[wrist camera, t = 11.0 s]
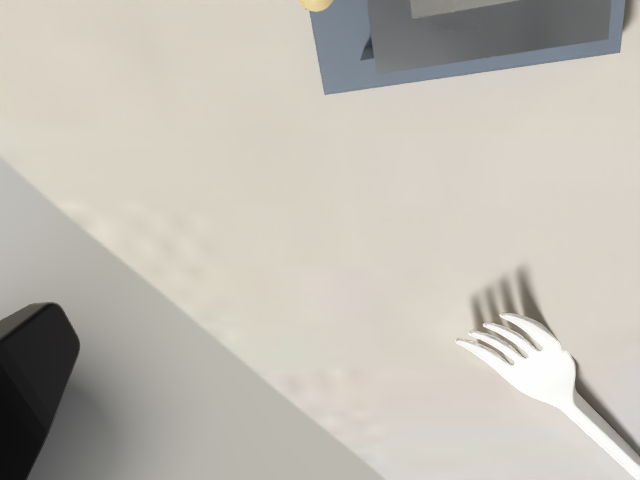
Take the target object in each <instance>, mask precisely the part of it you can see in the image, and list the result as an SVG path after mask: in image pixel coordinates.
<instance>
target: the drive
mask: <svg viewBox="0 0 640 480" xmlns="http://www.w3.org/2000/svg"><path fill="white" fill-rule="evenodd" d="M611 2H612V0H367V8H368V15H369V23H370V30H371V38H372V45H373V53H374V60H375V68H376V75H378V74H385V73H391V72H398V71H404V70H411V69H417V68H424V67H430V66H437V65H443V64H450V63H456V62H463V61H470V60H476V59H483V58H489V57H496V56H502V55H509V54H515V53H522V52H528V51H535V50H541V49H548V48H554V47H561V46H567V45H574V44H581V43H587V42H594V41H600V40H607V39H608V37H609V26H610V14H611Z"/></svg>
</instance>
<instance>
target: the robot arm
mask: <svg viewBox="0 0 640 480" xmlns="http://www.w3.org/2000/svg"><path fill="white" fill-rule="evenodd" d="M79 351H80V341H79V338H78V336H77V334H76V332H75V330H74V328H73V326H72V325H71V323H70V321H69V319H68V317H67V316H66V314H65V312H64V310H63V309H62V308H61V306H60V305H58V304H57V303H54V302H46V303H34V304H30V305H28V306H26V307H25V308H23V309H21V310H19V311H17V312H15V313H14V314H12V315H10V316H8V317H6V318H4V319H2V320H1V321H0V480H27V479H28V476H29V474H30V472H31V470H32V468H33V466H34V464H35V462H36V460H37V458H38V456H39V454H40V451H41V449H42V447H43V445H44V443H45V441H46V439H47V436H48V434H49V432H50V429H51V427H52V424H53V422H54V419H55V416H56V414H57V411H58V408H59V406H60V403H61V400H62V397H63V395H64V392H65V389H66V387H67V384H68V381H69V379H70V376H71V373H72V370H73V368H74V365H75V363H76V360H77V357H78V354H79Z"/></svg>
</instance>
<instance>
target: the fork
mask: <svg viewBox="0 0 640 480" xmlns="http://www.w3.org/2000/svg"><path fill="white" fill-rule="evenodd" d="M500 317H502V318H504V319H506V320H508V321H510V322H512V323H513V324H515V325H517V326H518V327H520V328H521V329H523V330H524V331H525V332H527V333H528V334H529V335H530V336H531V337H533V338H534V339H535V340H536V341H537V342H538V343H539V344H540V345H541V346H542V347H543V349H542V350H537V349H536V348H535V347H534V346H533V345H532V344H531V343H530V342H529V341H528V340H527V339H526V338H525V337H523V336H522V335H521V334H519V333H518V332H516V331H514V330H511V329H509V328H507V327H505V326H502V325H499V324H495V323H491V322H486V323H484V324H483V326H484V327H486V328H488V329H490V330H493V331H495V332H496V333H498V334H500V335H502V336H504V337H506V338H507V339H509V340H510V341H512V342H513V343H515V344H516V345H518V346H519V347H520V348H522V349H523V350H524V351H526V352H527V353H528V354H529V357H527V358H525V357H523V356H522V355H520V354H519V353H518V352H517V351H516V350H515V349H514V348H513V347H512V346H511V345H510V344H509V343H507V342H505V341H504V340H502V339H499V338H497V337H495V336H493V335H490V334H487V333H483V332H480V331H473V330H472V331H469V332H468V334H469V335H470V336H473V337H475V338H478V339H480V340H482V341H484V342H486V343H488V344H490V345H492V346H493V347H495V348H496V349H498V350H500V351H501V352H503V353H504V354H506V355H507V356H509V357H510V358H511V359H513V360H514V361H515V363H514V364H510V363H508V362H507V361H506V360H505V359H504V358H502V357H501V356H500V355H499V354H498V353H497V352H496V351H494V350H493V349H491V348H489V347H487V346H484V345H482V344H480V343H477V342H474V341H470V340H466V339H460V338H458V339H455V342H456V343H457V344H459V345H461V346H463V347H464V348H466V349H468V350H469V351H471V352H472V353H474V354H475V355H477V356H478V357H480V358H481V359H482V360H484V361H485V362H486V363H487V364H489V365H490V366H491V367H492V368H493V369H495V370H496V371H497V372H498V373H499V374H500V375H501V376H503V377H504V378H505V379H506V380H507V381H508V382H509V383H511V384H512V385H513V386H514V387H516V388H517V389H518V390H520V391H521V392H523V393H525V394H526V395H528V396H531V397H533V398H536V399H538V400H541V401H544V402H546V403H549V404H551V405H553V406H555V407H557V408H559V409H561V410H562V411H563V412H564V413H565V414H566V415H567V416H569V417H570V418H571V419H572V420H573V421H574V422H575V423H576V424H577V425H578V426H579V427H580V428H582V429H583V430H584V431H585V432H586V433H587V434H588V435H589V436H590V437H591V438H592V439H593V440H595V441H596V442H597V443H598V444H599V445H600V446H601V447H602V448H603V449H604V450H605V451H606V452H608V453H609V454H610V455H611V456H612V457H613V458H614V459H615V460H616V461H617V462H618V463H620V464H621V465H622V466H623V467H624V468H625V469H626V470H627V471H628V472H629V473H630V474H631V475H633V476H634V477H635V478H636V479H637V480H640V456H639V455H638V454H637V453H636V452H635V451H634V450H633V449H632V448H631V447H630V446H629V445H628V444H627V443H626V442H625V441H624V440H623V439H622V437H621V436H620V435H619V434H618V433H617V432H616V431H615V430H614V429H613V428H612V427H611V426H610V425H609V424H608V423H607V422H606V421H605V420H604V419H603V418H602V417H601V416H600V415H599V414H598V413H597V412H596V411H595V410H594V409H593V408H592V407H591V406H590V405H589V404H588V403H587V402H586V401H585V400H584V399H583V398H582V397H581V396H580V395H579V394H578V393H577V391H576V389H575V376H576V364H575V361H574V359H573V357H572V356H571V355H570V353H568V352H567V351H563V350H561V344H560V342H559V341H558V340H557V339H556V337H555V336H554V335H553V334H552V333H551V332H550V331H549V330H548V329H547V328H546V327H545V326H544V325H543V324H542V323H540V322H538V321H536V320H533V319H531V318H528V317H526V316H522V315H518V314H513V313H501V314H500Z"/></svg>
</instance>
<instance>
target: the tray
mask: <svg viewBox="0 0 640 480" xmlns="http://www.w3.org/2000/svg"><path fill="white" fill-rule="evenodd" d="M298 1H299V2H300V4H301V5H302V6H303V7H304V8H306V9H307V10H309V11H310V17H311V22H312V28H313V33H314V39H315V44H316V50H317V55H318V61H319V66H320V72H321V77H322V83H323V88H324V94H325V95H328V94H335V93H342V92H348V91H355V90H362V89H369V88H376V87H383V86H390V85H397V84H404V83H411V82H418V81H425V80H432V79H439V78H446V77H453V76H460V75H467V74H474V73H481V72H488V71H495V70H502V69H509V68H516V67H523V66H530V65H537V64H544V63H551V62H558V61H565V60H572V59H579V58H586V57H593V56H600V55H607V54H614V53H620V48H621V39H622V29H623V19H624V9H625V0H612V2H611V14H610V26H609V37H608V39H607V40H600V41H594V42H587V43H581V44H574V45H567V46H561V47H554V48H548V49H541V50H535V51H528V52H522V53H515V54H509V55H502V56H496V57H489V58H483V59H476V60H470V61H463V62H456V63H450V64H443V65H437V66H430V67H424V68H417V69H411V70H404V71H398V72H391V73H385V74H378V75H376V68H375V60H374V53H373V45H372V38H371V30H370V23H369V15H368V8H367V0H298Z"/></svg>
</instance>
